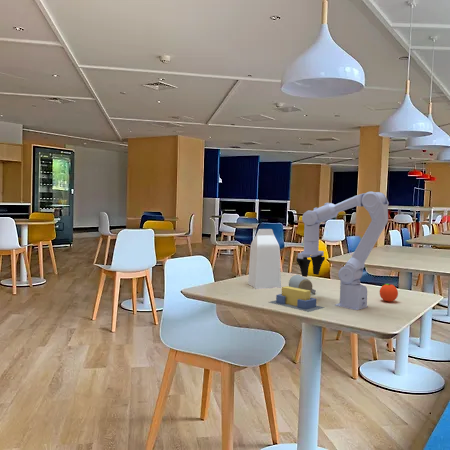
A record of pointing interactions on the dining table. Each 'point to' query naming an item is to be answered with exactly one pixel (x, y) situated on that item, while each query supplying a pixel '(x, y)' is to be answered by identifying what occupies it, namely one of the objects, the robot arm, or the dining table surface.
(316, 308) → the mat
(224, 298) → the dining table surface
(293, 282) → the ceramic mug
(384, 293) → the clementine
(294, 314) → the dining table surface
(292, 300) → the slat
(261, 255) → the milk
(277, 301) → the end cap
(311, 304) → the end cap
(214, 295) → the dining table surface
